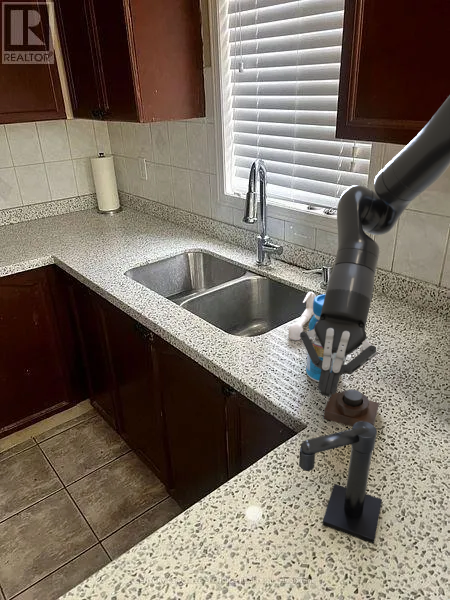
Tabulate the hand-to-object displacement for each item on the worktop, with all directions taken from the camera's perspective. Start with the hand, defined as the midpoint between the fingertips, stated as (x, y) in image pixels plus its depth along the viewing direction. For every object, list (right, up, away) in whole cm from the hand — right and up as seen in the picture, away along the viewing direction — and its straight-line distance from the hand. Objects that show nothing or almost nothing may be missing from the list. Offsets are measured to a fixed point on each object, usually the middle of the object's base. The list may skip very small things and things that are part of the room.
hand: (325, 395), depth 71 cm
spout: (0, -8, -5) cm, 10 cm away
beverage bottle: (+8, -3, +36) cm, 37 cm away
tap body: (+5, -20, +2) cm, 21 cm away
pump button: (+10, -6, +22) cm, 25 cm away
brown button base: (+11, -9, +23) cm, 27 cm away
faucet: (+7, +8, +58) cm, 59 cm away
